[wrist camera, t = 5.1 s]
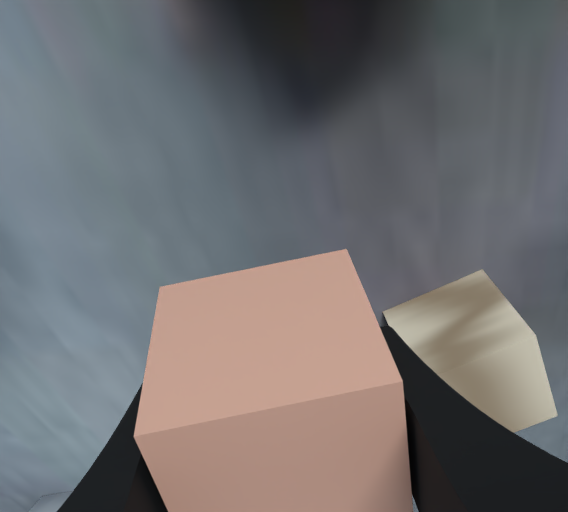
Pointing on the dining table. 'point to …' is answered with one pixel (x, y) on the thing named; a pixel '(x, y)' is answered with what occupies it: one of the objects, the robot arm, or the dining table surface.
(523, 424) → the maple block
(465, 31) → the dining table surface
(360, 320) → the terracotta block
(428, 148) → the dining table surface
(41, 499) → the salt shaker
